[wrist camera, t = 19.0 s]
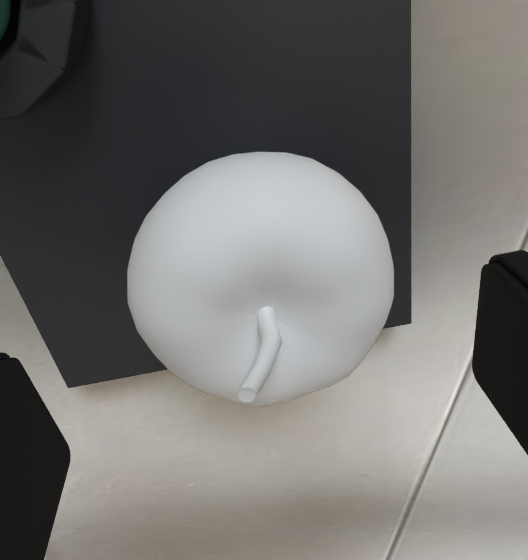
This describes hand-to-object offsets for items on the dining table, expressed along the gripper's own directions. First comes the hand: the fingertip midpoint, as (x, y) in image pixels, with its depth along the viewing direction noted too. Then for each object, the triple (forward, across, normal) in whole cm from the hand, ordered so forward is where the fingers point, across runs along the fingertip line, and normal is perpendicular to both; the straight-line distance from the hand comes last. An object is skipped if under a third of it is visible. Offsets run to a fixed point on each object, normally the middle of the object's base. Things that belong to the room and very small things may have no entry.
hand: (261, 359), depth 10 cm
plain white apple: (+8, 0, +1) cm, 8 cm away
